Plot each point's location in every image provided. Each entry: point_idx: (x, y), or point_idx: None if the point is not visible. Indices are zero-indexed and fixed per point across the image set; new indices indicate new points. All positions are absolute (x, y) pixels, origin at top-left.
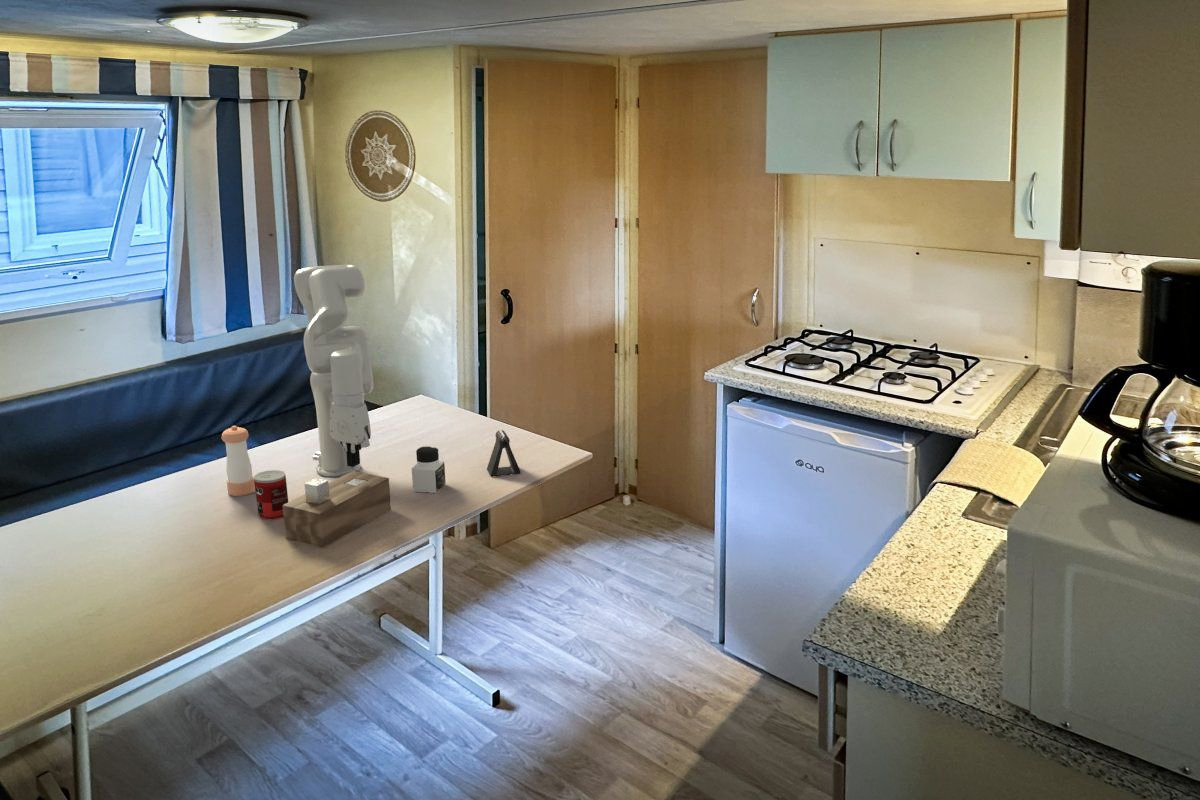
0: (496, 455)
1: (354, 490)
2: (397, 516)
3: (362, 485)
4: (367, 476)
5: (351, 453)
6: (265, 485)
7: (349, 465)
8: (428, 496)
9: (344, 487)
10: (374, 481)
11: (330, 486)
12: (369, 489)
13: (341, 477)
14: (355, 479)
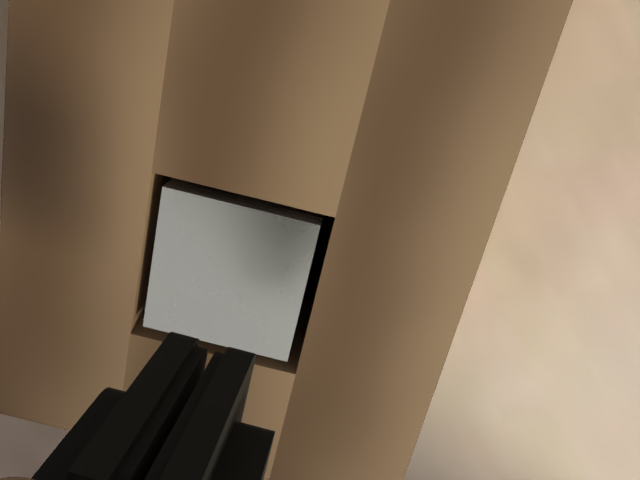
0: None
1: (107, 57)
2: None
3: (111, 208)
4: None
5: (68, 475)
6: None
7: (218, 352)
8: (25, 477)
9: (260, 115)
10: (62, 321)
11: (430, 108)
12: (10, 152)
13: (428, 359)
14: (266, 337)
